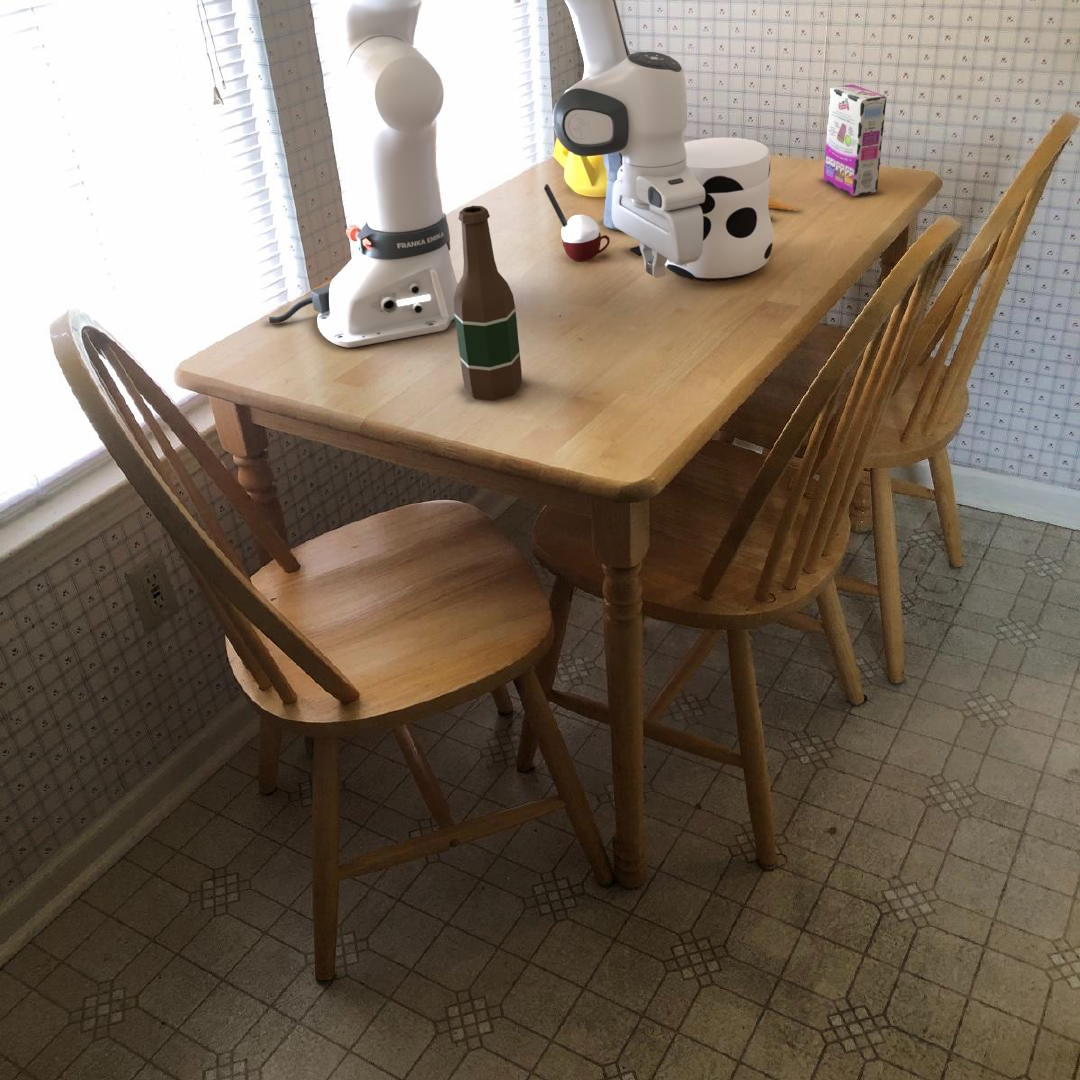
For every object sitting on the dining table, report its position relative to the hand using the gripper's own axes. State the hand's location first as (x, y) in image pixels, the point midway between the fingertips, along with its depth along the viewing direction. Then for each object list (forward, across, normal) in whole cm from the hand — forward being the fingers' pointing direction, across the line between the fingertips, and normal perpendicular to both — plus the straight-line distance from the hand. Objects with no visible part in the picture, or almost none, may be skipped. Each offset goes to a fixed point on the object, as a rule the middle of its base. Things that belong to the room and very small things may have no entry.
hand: (654, 274), depth 163 cm
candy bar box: (+4, -25, +54) cm, 60 cm away
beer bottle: (+5, +11, -31) cm, 33 cm away
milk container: (+5, -6, +14) cm, 16 cm away
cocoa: (+5, -23, -1) cm, 24 cm away
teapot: (+4, -53, +20) cm, 57 cm away
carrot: (+4, -28, +34) cm, 45 cm away
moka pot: (+5, -32, +13) cm, 35 cm away
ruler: (+4, -20, +20) cm, 29 cm away
